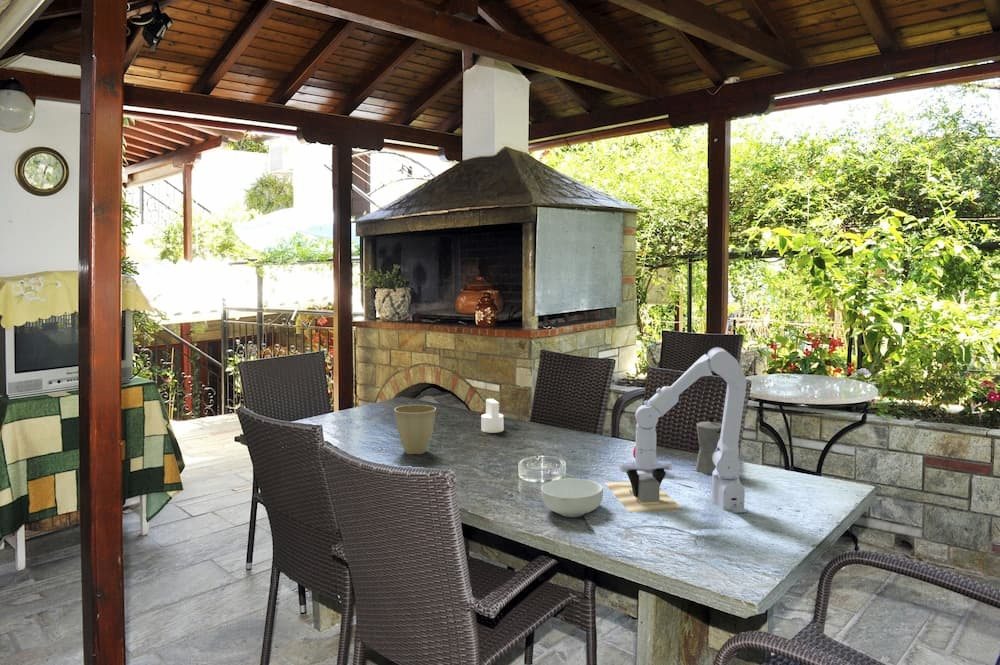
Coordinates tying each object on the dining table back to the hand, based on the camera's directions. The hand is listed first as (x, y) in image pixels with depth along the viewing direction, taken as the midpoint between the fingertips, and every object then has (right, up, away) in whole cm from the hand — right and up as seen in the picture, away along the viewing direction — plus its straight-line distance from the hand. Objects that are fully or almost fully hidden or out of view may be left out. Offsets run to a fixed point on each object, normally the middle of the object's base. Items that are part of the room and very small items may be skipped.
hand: (645, 495), depth 201 cm
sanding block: (0, -1, 0) cm, 1 cm away
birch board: (0, -2, +3) cm, 4 cm away
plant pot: (-71, +3, +56) cm, 91 cm away
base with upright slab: (-44, +6, +88) cm, 99 cm away
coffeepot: (+28, +1, +30) cm, 41 cm away
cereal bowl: (-21, -3, -6) cm, 22 cm away
